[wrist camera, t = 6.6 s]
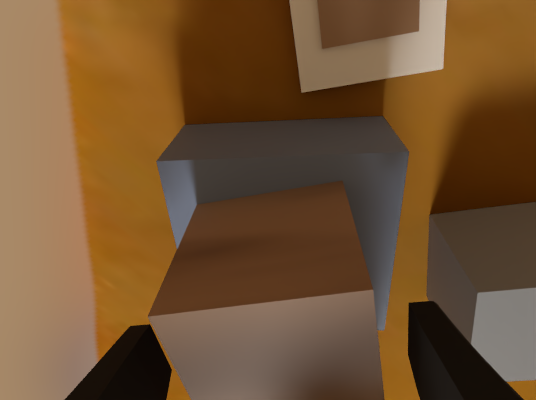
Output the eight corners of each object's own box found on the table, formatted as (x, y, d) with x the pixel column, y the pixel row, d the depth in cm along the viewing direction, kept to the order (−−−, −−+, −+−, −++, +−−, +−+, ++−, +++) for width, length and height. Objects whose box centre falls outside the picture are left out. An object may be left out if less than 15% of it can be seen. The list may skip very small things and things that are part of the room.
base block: (366, 267, 19) (384, 330, 15) (213, 269, 19) (195, 330, 16) (381, 113, 15) (409, 151, 11) (186, 122, 15) (156, 161, 12)
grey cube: (529, 284, 18) (603, 375, 14) (426, 293, 19) (465, 383, 15) (548, 199, 16) (645, 277, 12) (429, 213, 17) (477, 293, 12)
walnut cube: (357, 293, 14) (386, 425, 10) (233, 308, 15) (211, 437, 11) (342, 180, 12) (373, 289, 7) (196, 204, 13) (147, 316, 8)
